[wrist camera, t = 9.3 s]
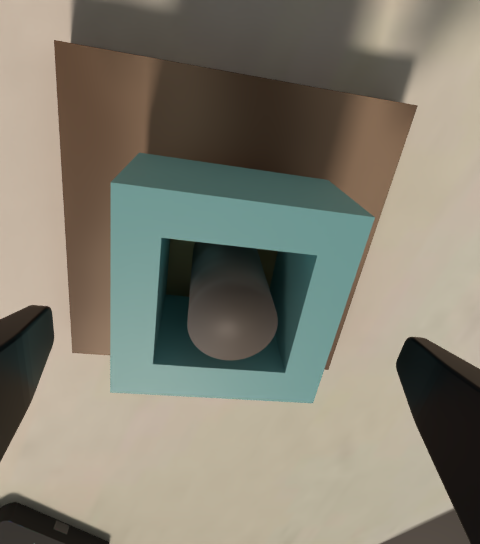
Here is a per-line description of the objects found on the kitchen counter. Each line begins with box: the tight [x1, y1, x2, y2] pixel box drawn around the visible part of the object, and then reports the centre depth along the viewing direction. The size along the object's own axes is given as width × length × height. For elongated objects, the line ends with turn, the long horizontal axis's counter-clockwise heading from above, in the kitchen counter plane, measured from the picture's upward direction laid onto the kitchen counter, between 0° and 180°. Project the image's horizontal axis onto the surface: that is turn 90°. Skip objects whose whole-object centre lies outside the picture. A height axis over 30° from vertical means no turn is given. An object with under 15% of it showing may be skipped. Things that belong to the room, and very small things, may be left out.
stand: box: [54, 40, 417, 370], centre depth 13 cm, size 12×12×7 cm
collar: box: [110, 153, 375, 403], centre depth 12 cm, size 6×6×4 cm
